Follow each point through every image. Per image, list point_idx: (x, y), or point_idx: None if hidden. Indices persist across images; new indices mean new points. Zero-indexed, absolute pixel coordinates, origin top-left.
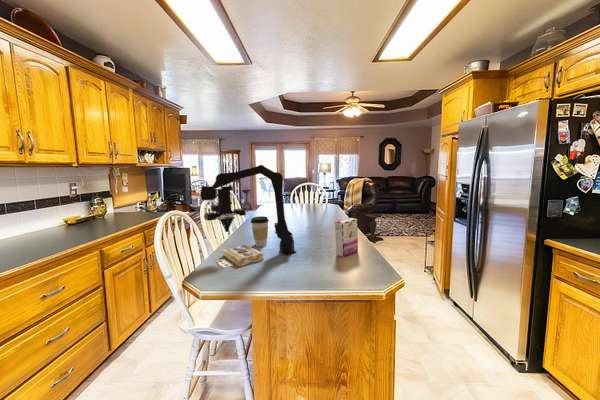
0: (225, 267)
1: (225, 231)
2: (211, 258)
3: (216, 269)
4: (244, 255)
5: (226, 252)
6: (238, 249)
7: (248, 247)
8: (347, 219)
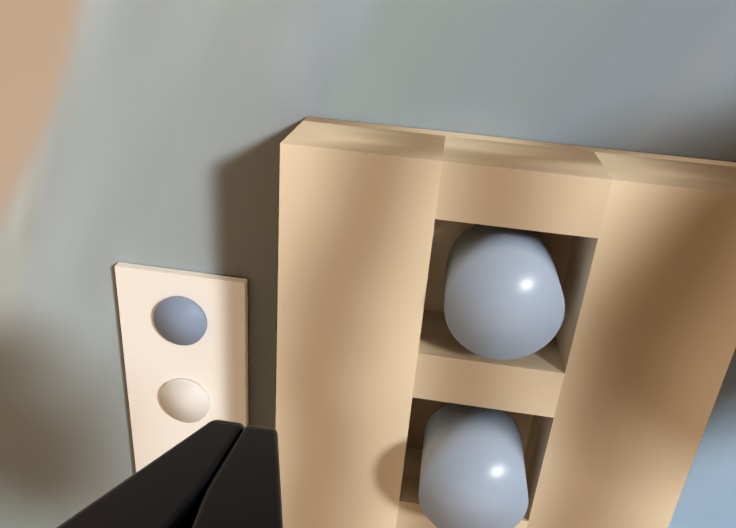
0: None
1: (209, 426)
2: (118, 76)
3: (73, 461)
4: None
5: (279, 295)
6: (488, 350)
7: (688, 379)
8: None
